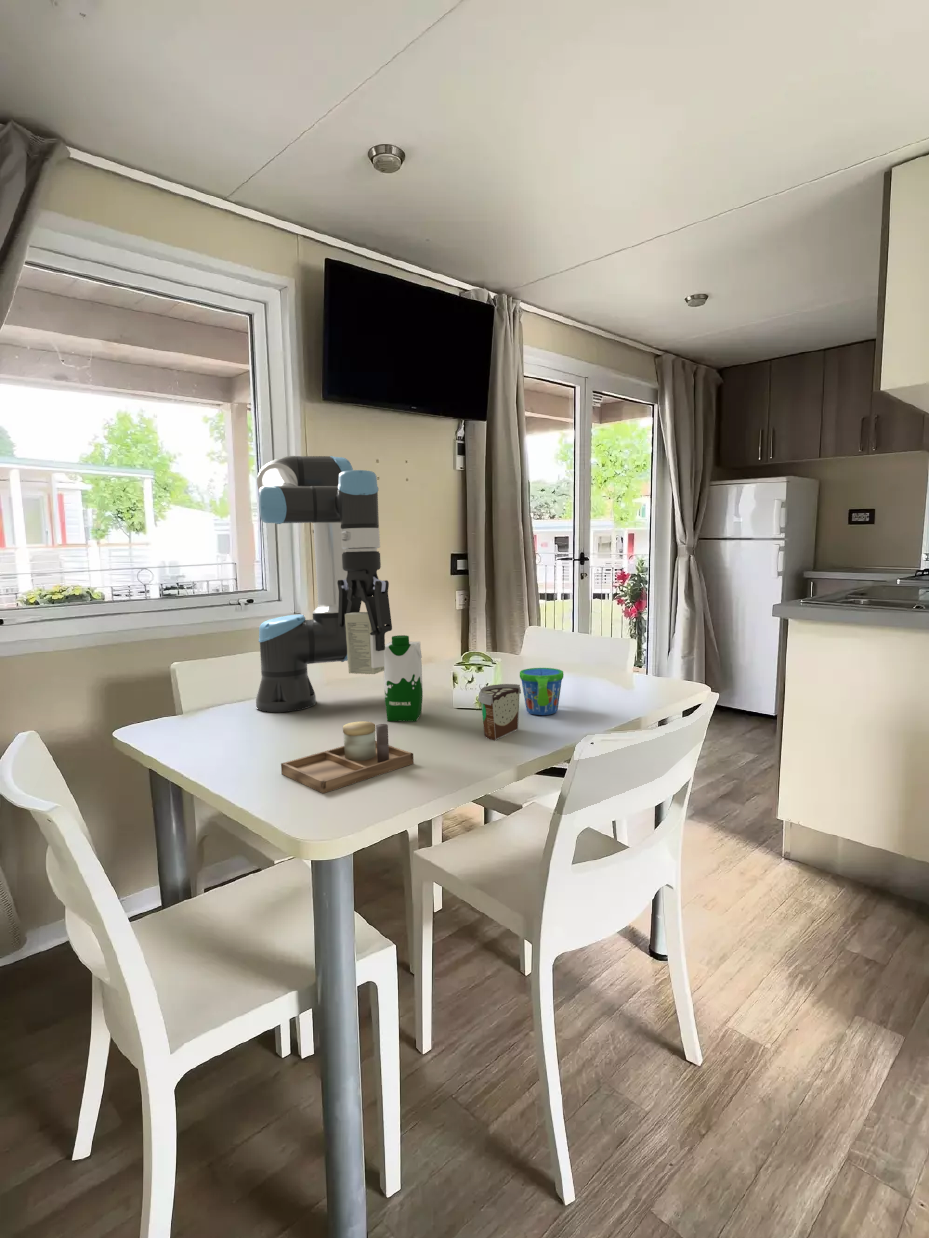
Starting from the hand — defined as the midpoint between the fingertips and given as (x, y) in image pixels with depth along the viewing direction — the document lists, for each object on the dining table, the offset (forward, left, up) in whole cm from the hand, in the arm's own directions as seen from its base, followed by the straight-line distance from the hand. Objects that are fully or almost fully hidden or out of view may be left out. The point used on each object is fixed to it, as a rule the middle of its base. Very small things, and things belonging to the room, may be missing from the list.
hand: (365, 664), depth 133 cm
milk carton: (-13, +20, -18) cm, 30 cm away
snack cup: (+9, +45, -18) cm, 49 cm away
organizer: (+7, -10, -18) cm, 21 cm away
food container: (+12, +25, -18) cm, 33 cm away
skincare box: (0, 0, -2) cm, 2 cm away
